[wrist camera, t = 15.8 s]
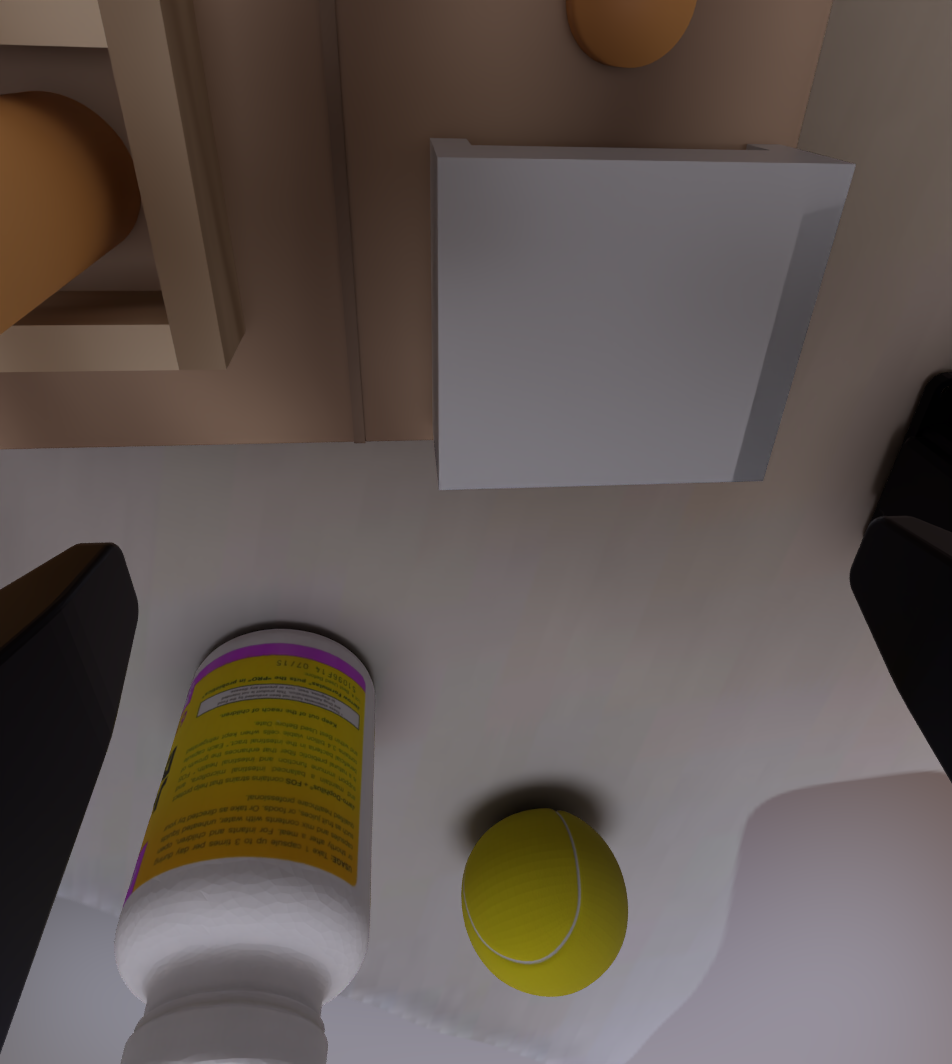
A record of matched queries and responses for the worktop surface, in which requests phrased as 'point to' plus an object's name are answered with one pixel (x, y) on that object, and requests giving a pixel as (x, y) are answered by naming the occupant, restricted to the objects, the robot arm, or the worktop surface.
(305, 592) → the worktop surface
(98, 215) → the peg
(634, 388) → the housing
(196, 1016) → the supplement bottle
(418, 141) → the board
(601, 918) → the tennis ball
